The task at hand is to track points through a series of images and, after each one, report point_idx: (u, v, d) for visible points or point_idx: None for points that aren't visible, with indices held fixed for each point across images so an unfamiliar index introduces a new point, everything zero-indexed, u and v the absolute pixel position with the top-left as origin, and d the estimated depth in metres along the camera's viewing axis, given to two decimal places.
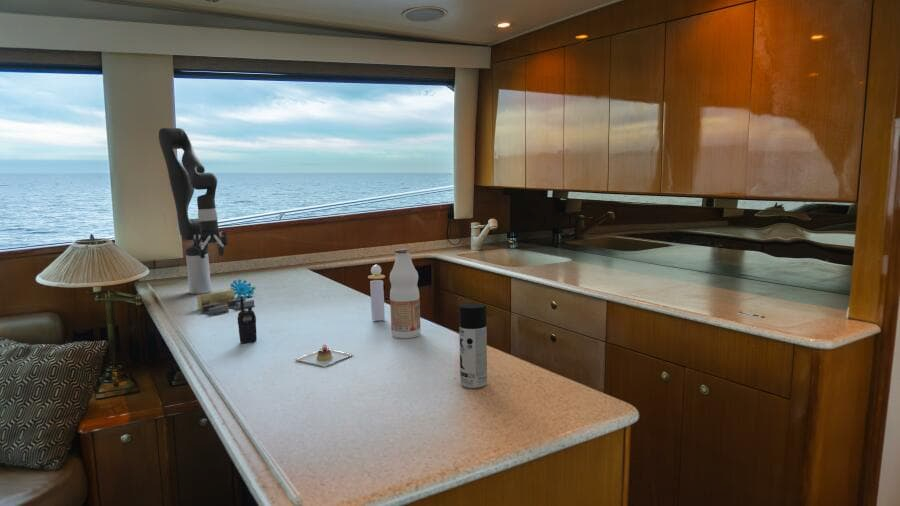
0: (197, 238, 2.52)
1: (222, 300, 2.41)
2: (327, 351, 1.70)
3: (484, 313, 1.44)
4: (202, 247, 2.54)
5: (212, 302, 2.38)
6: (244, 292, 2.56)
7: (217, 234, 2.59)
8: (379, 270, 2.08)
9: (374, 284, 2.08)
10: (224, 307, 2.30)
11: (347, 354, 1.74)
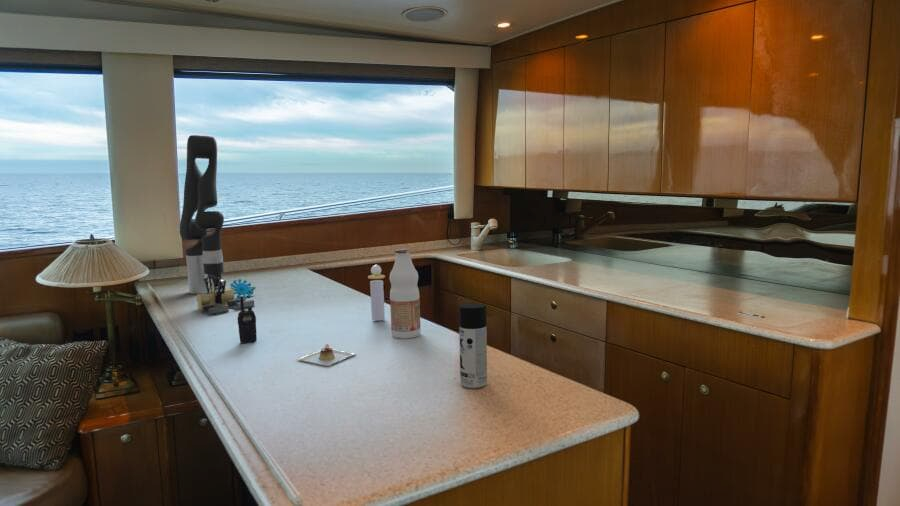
0: None
1: (222, 299, 2.41)
2: (329, 351, 1.70)
3: (484, 313, 1.44)
4: None
5: (212, 302, 2.38)
6: (244, 292, 2.56)
7: None
8: (379, 270, 2.08)
9: (374, 284, 2.08)
10: (224, 307, 2.30)
11: (349, 354, 1.74)
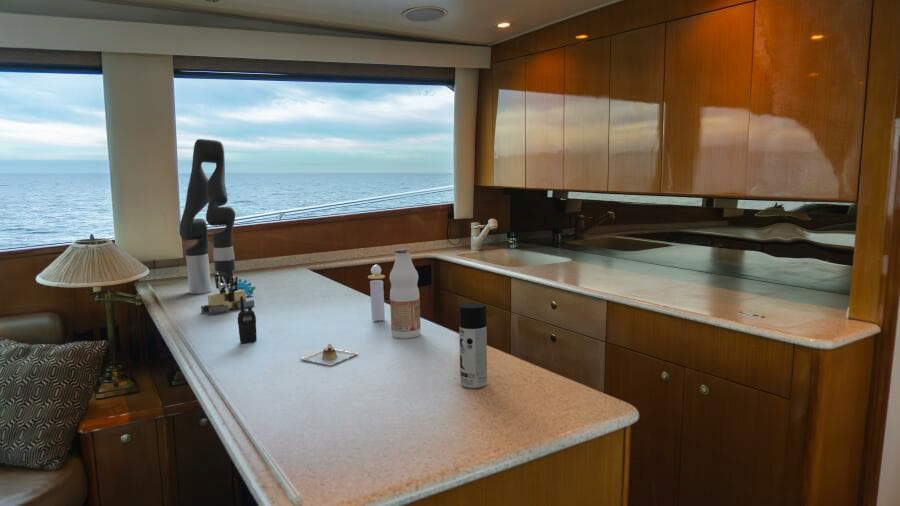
0: None
1: None
2: (332, 350, 1.71)
3: (484, 313, 1.44)
4: None
5: (223, 303, 2.32)
6: None
7: None
8: (379, 270, 2.08)
9: (374, 284, 2.08)
10: (224, 307, 2.30)
11: (352, 353, 1.74)
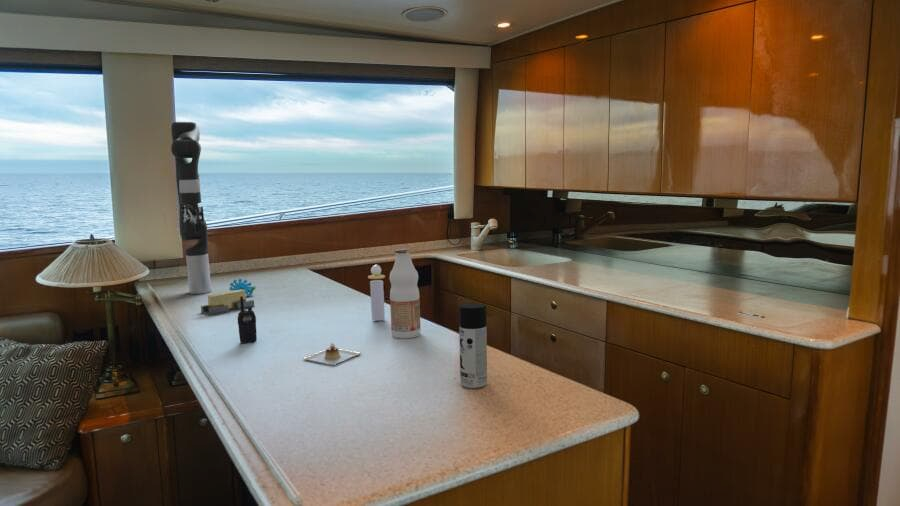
0: None
1: (233, 301, 2.35)
2: (335, 350, 1.71)
3: (484, 313, 1.44)
4: None
5: (223, 303, 2.32)
6: None
7: None
8: (379, 270, 2.08)
9: (374, 284, 2.08)
10: (224, 307, 2.30)
11: (355, 353, 1.74)
